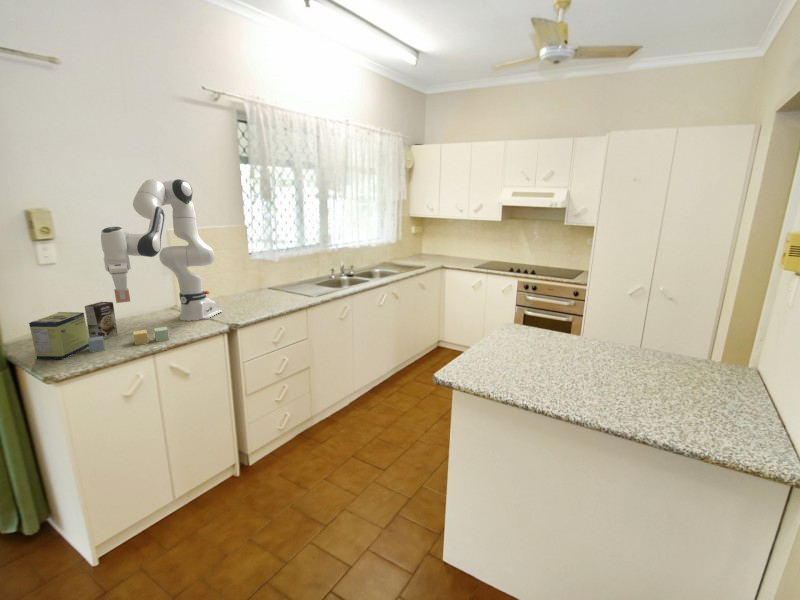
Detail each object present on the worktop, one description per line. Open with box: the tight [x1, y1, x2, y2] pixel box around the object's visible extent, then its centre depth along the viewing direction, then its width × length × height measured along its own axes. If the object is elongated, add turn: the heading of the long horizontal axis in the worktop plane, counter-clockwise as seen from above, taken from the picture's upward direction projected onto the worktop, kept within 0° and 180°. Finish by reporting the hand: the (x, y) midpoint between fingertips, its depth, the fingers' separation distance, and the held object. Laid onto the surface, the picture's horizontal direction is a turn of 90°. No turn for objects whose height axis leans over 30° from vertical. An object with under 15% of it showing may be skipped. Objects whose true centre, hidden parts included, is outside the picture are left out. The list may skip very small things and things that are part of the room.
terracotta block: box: [113, 287, 131, 304], centre depth 175 cm, size 5×5×5 cm
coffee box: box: [84, 301, 119, 340], centre depth 184 cm, size 9×6×16 cm
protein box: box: [28, 311, 89, 360], centre depth 166 cm, size 10×16×16 cm
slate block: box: [88, 336, 106, 353], centre depth 171 cm, size 5×5×5 cm
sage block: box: [153, 326, 170, 342], centre depth 185 cm, size 5×5×5 cm
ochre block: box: [132, 329, 149, 346], centre depth 180 cm, size 5×5×5 cm
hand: (122, 297), depth 175 cm, fingers closed on terracotta block, 5 cm apart
